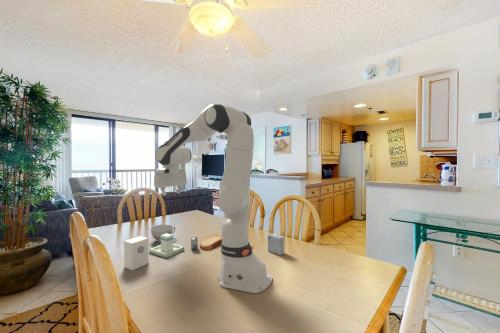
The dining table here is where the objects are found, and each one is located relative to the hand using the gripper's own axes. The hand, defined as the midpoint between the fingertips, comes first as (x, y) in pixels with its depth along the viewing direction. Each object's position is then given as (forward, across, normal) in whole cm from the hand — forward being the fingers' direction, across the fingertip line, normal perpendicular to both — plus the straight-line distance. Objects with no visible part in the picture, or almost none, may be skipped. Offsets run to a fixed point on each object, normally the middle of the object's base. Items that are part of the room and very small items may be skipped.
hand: (171, 194), depth 131 cm
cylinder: (+29, -3, +14) cm, 33 cm away
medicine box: (+29, -22, +54) cm, 65 cm away
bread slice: (+30, -15, +18) cm, 38 cm away
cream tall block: (+29, +25, +5) cm, 39 cm away
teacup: (+30, -4, -12) cm, 32 cm away
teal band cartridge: (+28, +7, +4) cm, 30 cm away
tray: (+29, +7, +4) cm, 30 cm away
